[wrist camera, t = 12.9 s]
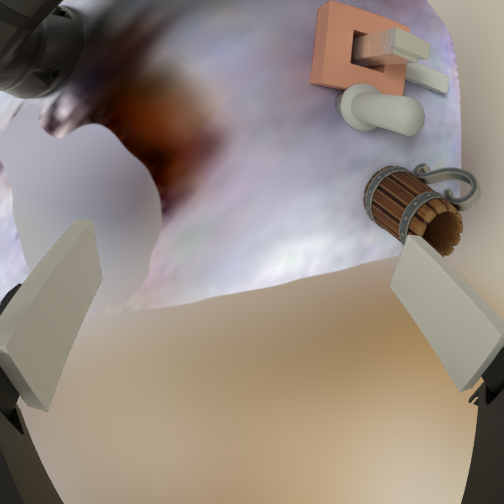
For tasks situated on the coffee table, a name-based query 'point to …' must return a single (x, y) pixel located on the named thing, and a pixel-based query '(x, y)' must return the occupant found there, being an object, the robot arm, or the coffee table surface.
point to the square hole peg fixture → (368, 73)
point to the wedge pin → (388, 48)
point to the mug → (419, 204)
